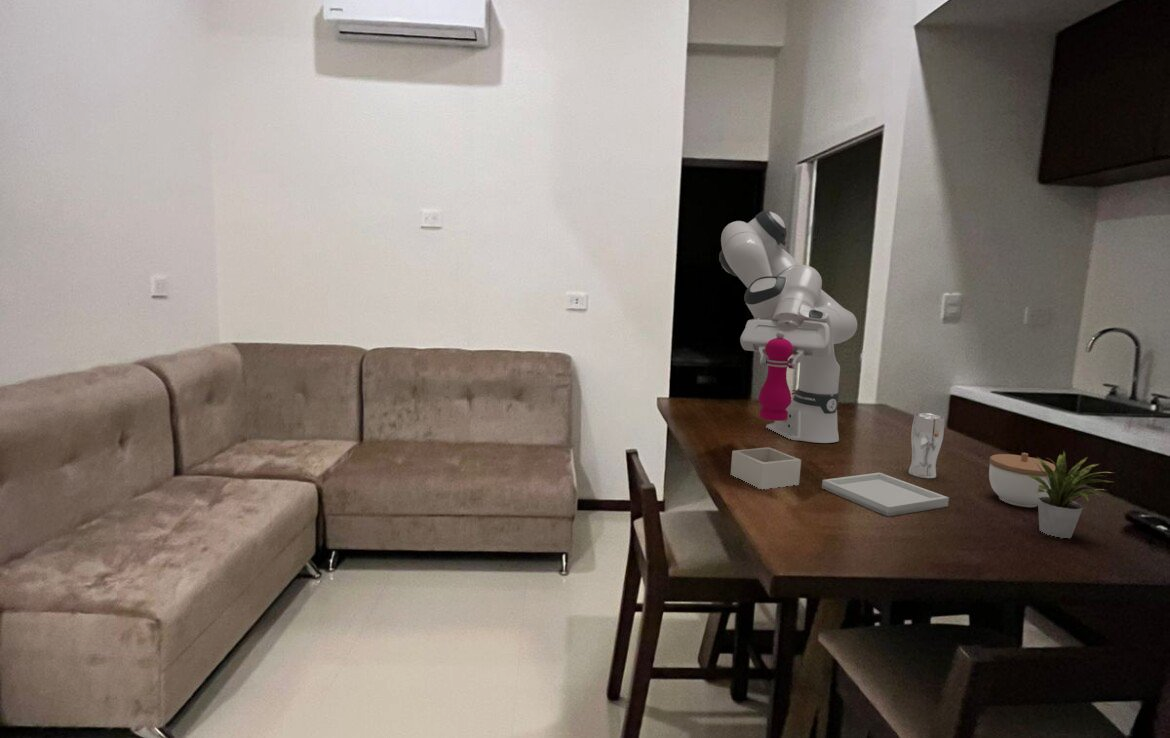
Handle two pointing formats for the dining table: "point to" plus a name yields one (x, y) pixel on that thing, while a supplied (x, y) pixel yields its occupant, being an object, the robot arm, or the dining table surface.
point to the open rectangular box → (765, 468)
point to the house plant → (1063, 497)
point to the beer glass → (926, 444)
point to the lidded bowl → (1017, 478)
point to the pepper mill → (776, 380)
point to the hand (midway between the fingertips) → (777, 365)
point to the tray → (885, 494)
